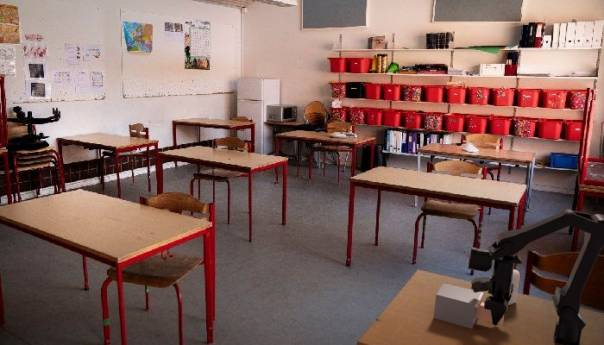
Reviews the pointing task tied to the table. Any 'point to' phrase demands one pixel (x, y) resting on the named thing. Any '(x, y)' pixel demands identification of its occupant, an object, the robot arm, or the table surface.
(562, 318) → the robot arm
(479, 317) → the pink rectangular block
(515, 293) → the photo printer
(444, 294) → the pale grey box
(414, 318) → the table surface
